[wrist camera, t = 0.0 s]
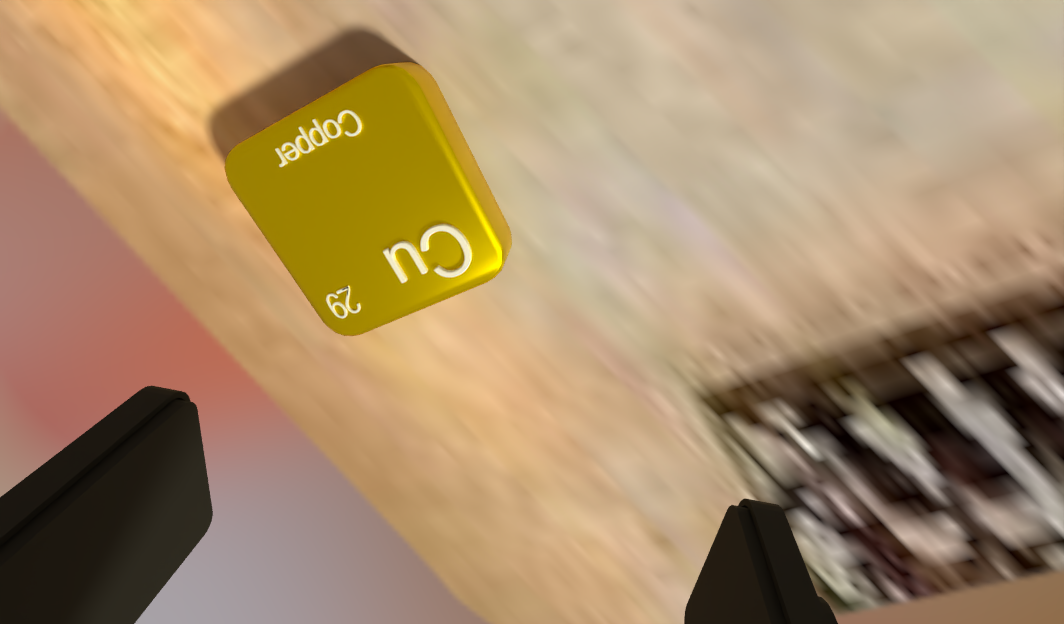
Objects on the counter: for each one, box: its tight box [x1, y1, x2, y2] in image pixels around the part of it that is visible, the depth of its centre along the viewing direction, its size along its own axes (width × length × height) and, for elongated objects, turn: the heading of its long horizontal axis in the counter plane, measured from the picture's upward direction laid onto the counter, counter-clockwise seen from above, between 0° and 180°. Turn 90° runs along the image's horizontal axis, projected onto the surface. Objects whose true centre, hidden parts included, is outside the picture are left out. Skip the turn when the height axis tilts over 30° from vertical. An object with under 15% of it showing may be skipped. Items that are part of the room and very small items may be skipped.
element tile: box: [225, 62, 512, 336], centre depth 38 cm, size 15×15×5 cm
